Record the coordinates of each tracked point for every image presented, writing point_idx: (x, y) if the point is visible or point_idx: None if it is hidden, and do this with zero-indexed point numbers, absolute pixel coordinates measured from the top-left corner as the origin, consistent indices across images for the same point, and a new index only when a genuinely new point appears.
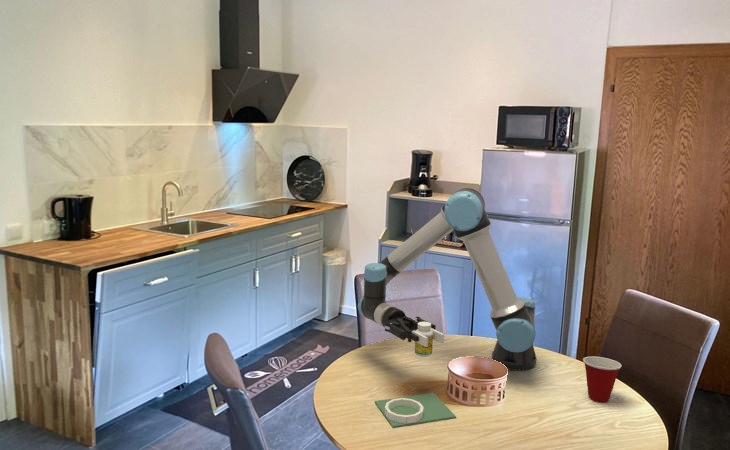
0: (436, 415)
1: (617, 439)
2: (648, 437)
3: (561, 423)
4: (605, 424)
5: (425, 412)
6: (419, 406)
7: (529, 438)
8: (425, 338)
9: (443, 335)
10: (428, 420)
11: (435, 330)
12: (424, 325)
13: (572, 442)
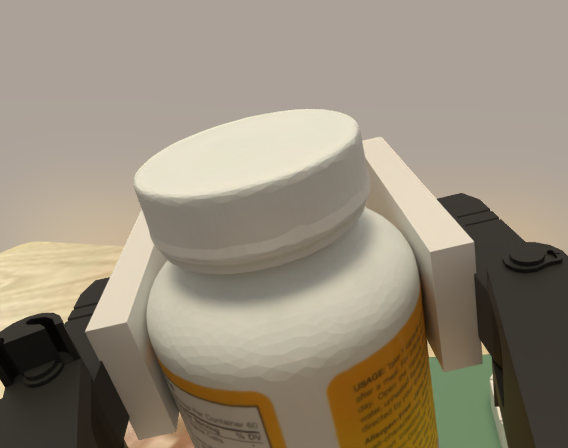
0: (431, 379)
1: (70, 251)
2: (19, 252)
3: None
4: (17, 287)
5: (476, 410)
6: None
7: None
8: (383, 144)
9: None
10: (483, 355)
11: (131, 252)
12: (289, 117)
13: None
